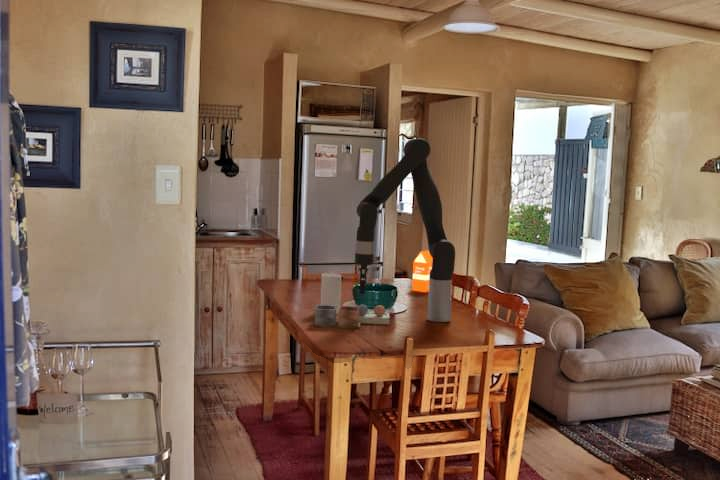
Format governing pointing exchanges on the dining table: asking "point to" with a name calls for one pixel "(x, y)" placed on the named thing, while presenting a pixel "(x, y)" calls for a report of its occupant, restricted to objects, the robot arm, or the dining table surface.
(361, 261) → the robot arm
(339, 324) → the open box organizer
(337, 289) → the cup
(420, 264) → the orange juice
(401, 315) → the dining table surface
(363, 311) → the ball slate
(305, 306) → the dining table surface
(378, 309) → the ball terracotta
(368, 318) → the pocket board
